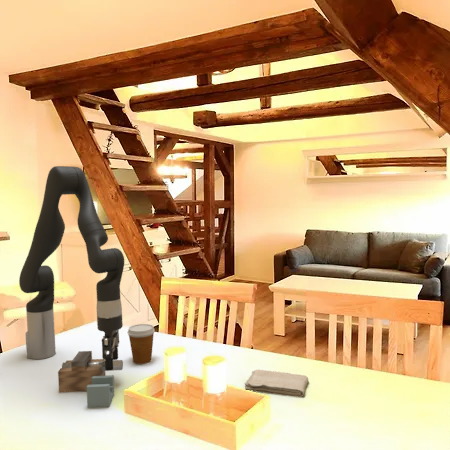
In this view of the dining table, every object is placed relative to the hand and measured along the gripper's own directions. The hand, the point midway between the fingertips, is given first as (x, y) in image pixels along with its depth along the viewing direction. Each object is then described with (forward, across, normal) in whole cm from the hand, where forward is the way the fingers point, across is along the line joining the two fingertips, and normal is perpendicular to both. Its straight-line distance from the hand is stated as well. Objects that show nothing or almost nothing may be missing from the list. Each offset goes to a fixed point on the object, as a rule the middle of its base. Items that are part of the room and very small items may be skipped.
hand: (112, 364), depth 139 cm
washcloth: (+8, +6, +50) cm, 51 cm away
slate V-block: (+6, +11, -1) cm, 13 cm away
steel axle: (+2, 0, -6) cm, 6 cm away
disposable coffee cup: (+6, -19, +7) cm, 21 cm away
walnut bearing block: (+6, 0, -9) cm, 11 cm away
